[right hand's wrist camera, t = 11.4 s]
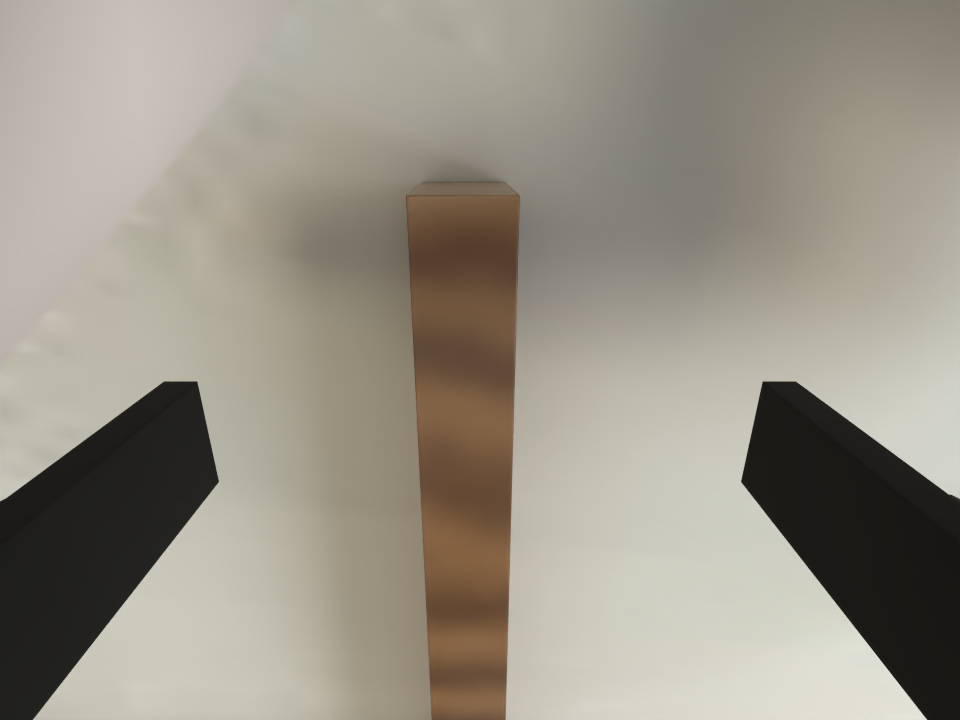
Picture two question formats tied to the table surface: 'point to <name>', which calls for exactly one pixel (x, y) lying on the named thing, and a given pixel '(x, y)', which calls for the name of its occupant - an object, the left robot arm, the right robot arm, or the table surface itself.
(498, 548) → the beam
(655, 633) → the table surface
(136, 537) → the right robot arm
